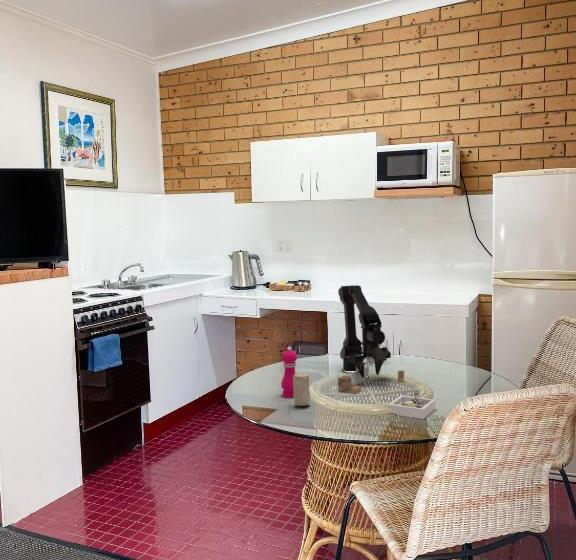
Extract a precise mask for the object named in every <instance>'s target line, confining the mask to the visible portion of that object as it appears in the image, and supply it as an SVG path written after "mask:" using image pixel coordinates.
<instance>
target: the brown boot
mask: <svg viewBox="0 0 576 560" xmlns="http://www.w3.org/2000/svg"><path fill="white" fill-rule="evenodd" d="M337 387H338V388H337V389H338V390H337V392H338V393H344V394H351V395H357V394H359V393H361V392H362V386H359V385H356V386H353V384H352V376H349V375H348V376H347V375H342V376H339V377H337Z"/></svg>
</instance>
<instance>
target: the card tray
mask: <svg viewBox="0 0 576 560" xmlns="http://www.w3.org/2000/svg"><path fill="white" fill-rule="evenodd" d="M413 398H415V396H411V395H410V396H409V395H403V394H402V395H400V396H398V397H397V398H395V399H394V400H393V401H391V402H390V403H388V406H387V407H388V408H390V409H392V410H393V411H394V413H395V414H396V415H395V414H394V415H395V416H400V417H406V418H412V419H420V420H424V419H426V418H427V417H428V416H429V415H430V414H431V413H432V412H434V411H435V410H436V399H430V398H424V397H420V400H422V402H423V404H425V406H424V407H422V408H416V407H409V406H407V405H396V404H398V403H400V402H407V401H411V400H412V399H413ZM417 399H418V396H417Z"/></svg>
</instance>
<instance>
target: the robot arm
mask: <svg viewBox="0 0 576 560" xmlns="http://www.w3.org/2000/svg"><path fill="white" fill-rule="evenodd" d="M337 293H338V296H339V301H340V302H341V303H342V305H343V314H344V327H345V328H344V329H345V338H344V340H343V342H342V347H341V350H340V352H339V355H340V358H339V359H341V360H342V367H343V369H342V370H345V371H356V367H357V369H358V371H359V373H360V375H361V377H362V378H364V366H365V365H366V362H364V361H365V360H367V359H370V358H373V359H374V363H375V365H374V369H375V370H374V371H375V374H376V376H379V375H380V372H381V369H382V366H383V363H384V362H386V361H387V360H388V359H391V358H392V354H391V352H390V350H389V348H388V347H386V346H382V347H380V346H379V345H378V344H381V345H382V344H383V343H385V341H386V337H385V336H386V333H385V332H384V331H383V330H381V328H382V323H383V322H382V321H381V319H380V316H379V313H378V312H377V310H376V309H375V308H374V307H373V306H371V305H370V304H369V302H368V300H367V299H366V297H365V295H364V293H363V291H362V286H361V285H359V284H357V285H353V284H352V285H351V284H350V285H341V286H340V287H339V288H338V291H337ZM355 306H356V308H357V310H358V311H359V314H358V321H359V323H360V325H361V326H360V328H361V334H362V335H361V338H362V339H361V340H360V339H359V338H358V336H357V327H356V326H357V325H356V324H357V323H356V314H355V312H356V310H355ZM384 333H385V334H384ZM362 347H363V348H362Z"/></svg>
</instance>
